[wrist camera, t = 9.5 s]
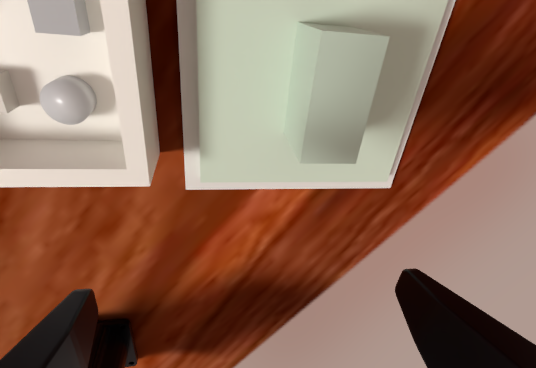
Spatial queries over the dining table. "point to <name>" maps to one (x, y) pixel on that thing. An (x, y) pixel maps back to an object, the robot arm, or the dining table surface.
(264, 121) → the lid
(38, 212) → the dining table surface
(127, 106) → the tub
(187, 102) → the mat
